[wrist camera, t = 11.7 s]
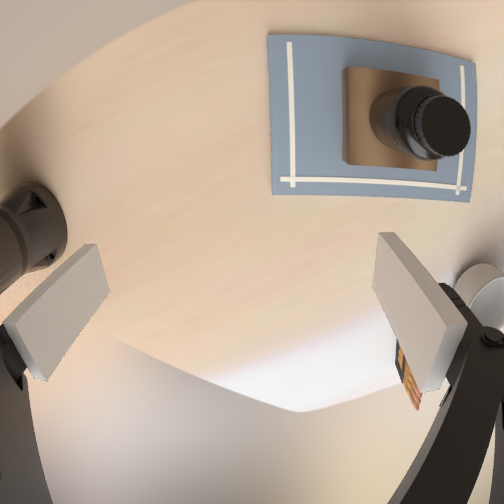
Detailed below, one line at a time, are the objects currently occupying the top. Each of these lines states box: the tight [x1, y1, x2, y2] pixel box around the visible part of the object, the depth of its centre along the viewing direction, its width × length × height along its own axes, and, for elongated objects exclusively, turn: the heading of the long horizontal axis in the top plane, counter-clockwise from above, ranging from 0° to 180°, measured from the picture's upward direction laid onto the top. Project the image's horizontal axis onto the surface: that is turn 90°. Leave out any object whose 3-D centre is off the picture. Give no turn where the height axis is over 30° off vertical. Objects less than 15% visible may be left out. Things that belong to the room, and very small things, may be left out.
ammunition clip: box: [395, 340, 422, 410], centre depth 42 cm, size 11×2×12 cm, turn 14°
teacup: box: [454, 263, 504, 331], centre depth 38 cm, size 14×11×8 cm
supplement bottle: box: [369, 85, 471, 162], centre depth 24 cm, size 7×7×12 cm
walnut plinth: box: [342, 66, 440, 171], centre depth 31 cm, size 11×11×4 cm
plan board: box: [267, 35, 477, 203], centre depth 33 cm, size 28×20×1 cm
